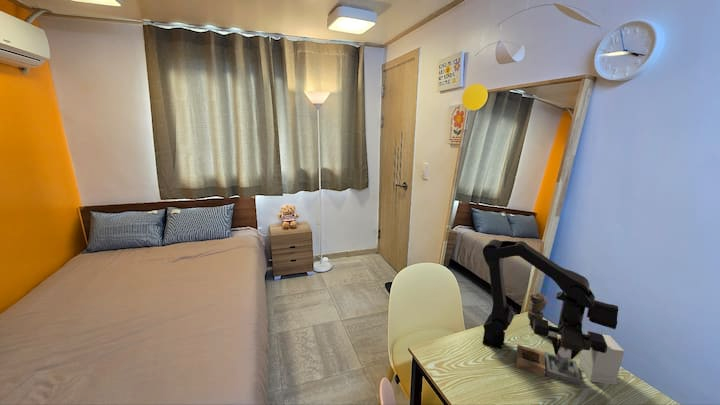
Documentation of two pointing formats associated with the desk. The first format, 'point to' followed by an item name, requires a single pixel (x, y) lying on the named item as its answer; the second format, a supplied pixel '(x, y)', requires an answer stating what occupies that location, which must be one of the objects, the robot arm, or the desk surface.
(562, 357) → the grey and red cylinder
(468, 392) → the desk surface
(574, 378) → the tray
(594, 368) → the supplement box
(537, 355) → the socket block
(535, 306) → the light bulb
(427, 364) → the desk surface
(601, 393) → the desk surface
